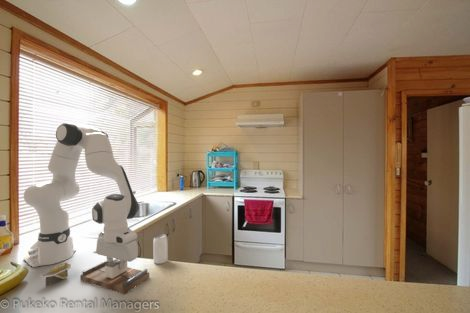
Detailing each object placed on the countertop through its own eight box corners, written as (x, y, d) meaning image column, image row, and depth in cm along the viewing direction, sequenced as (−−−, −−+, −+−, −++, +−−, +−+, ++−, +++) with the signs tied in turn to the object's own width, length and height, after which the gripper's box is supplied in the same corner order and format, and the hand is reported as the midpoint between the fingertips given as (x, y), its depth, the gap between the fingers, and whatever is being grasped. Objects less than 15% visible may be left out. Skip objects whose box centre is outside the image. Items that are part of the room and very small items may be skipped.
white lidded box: (105, 276, 88) (105, 264, 87) (120, 268, 94) (120, 256, 94) (112, 278, 86) (112, 266, 86) (127, 269, 92) (127, 258, 92)
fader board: (80, 280, 90) (80, 271, 90) (107, 266, 101) (107, 258, 101) (124, 294, 80) (124, 284, 80) (149, 277, 91) (149, 268, 91)
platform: (90, 273, 96) (89, 258, 96) (41, 299, 79) (41, 280, 79) (72, 269, 100) (71, 254, 100) (22, 292, 83) (21, 275, 83)
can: (163, 265, 101) (162, 239, 101) (150, 263, 103) (150, 238, 103) (170, 258, 108) (169, 234, 108) (158, 257, 109) (157, 233, 109)
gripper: (91, 233, 91) (92, 266, 91) (127, 240, 83) (128, 276, 83) (105, 229, 97) (106, 260, 97) (140, 234, 89) (141, 268, 89)
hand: (116, 267), depth 90 cm, fingers closed on white lidded box, 4 cm apart
